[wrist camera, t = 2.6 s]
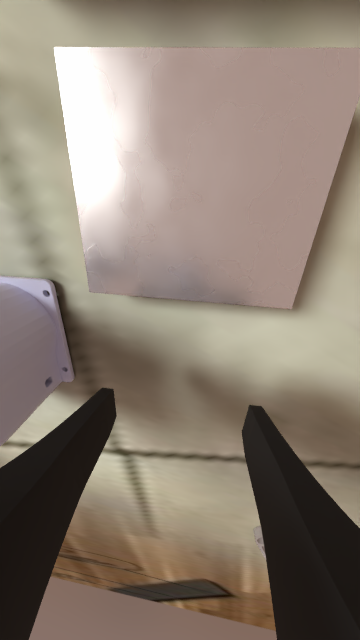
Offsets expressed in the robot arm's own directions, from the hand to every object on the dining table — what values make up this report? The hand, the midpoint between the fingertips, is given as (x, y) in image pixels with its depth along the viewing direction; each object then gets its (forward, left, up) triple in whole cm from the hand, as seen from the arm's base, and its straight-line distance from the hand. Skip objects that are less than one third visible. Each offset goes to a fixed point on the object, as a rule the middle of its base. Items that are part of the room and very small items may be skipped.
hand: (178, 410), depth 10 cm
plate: (+10, 0, -7) cm, 12 cm away
